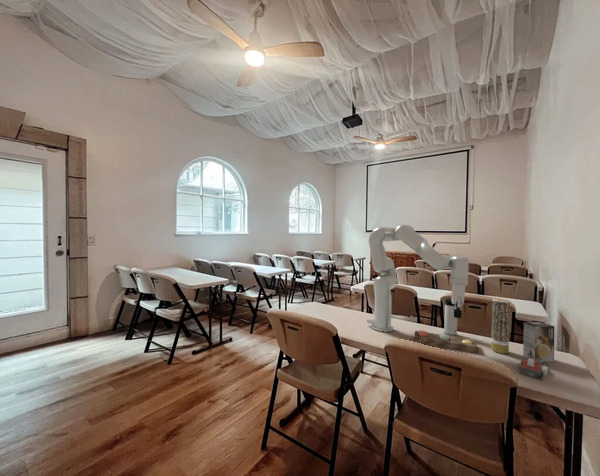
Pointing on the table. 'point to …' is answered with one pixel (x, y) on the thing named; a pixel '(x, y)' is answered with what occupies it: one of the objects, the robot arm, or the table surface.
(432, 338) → the button panel
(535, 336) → the coffee box
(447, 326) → the travel mug
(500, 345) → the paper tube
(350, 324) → the table surface
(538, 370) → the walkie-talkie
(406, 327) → the table surface
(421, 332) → the brick red button
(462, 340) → the ochre button
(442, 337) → the sage button
